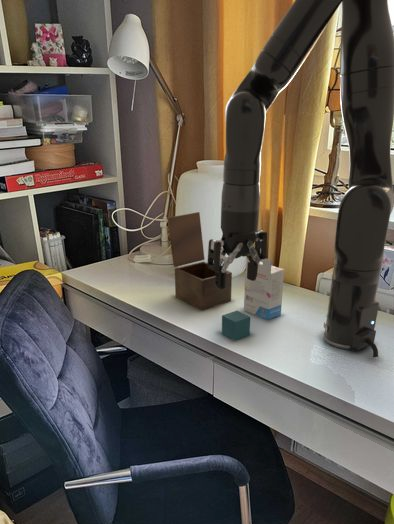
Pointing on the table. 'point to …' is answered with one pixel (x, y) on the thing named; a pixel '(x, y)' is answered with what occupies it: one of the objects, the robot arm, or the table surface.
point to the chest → (201, 286)
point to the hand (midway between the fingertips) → (236, 283)
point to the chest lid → (186, 239)
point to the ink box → (264, 290)
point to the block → (236, 325)
